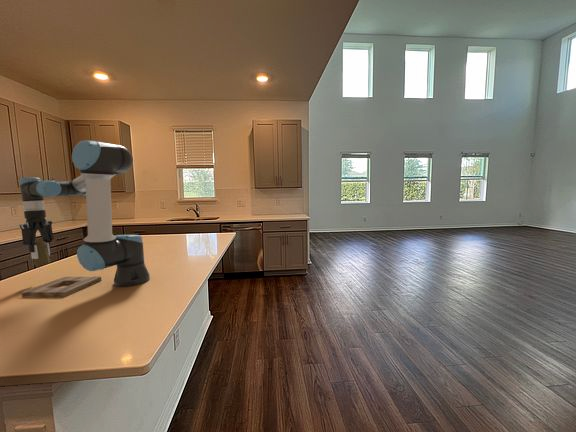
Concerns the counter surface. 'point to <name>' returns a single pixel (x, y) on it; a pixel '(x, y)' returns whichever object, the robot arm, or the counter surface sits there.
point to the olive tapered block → (41, 254)
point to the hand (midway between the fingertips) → (41, 256)
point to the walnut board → (53, 291)
